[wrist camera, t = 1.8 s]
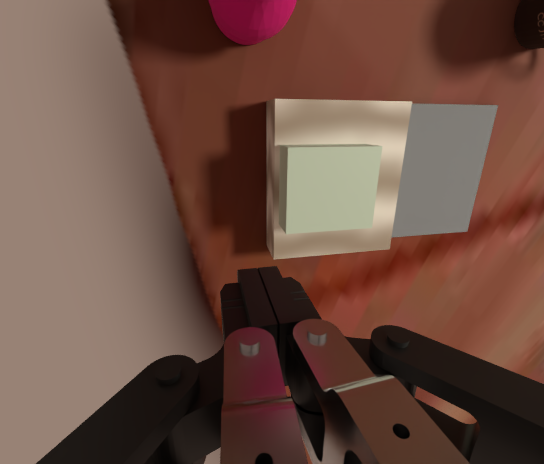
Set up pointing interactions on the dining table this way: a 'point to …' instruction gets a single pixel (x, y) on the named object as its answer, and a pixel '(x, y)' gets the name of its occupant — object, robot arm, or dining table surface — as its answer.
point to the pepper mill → (251, 18)
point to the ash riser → (336, 130)
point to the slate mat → (442, 167)
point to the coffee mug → (530, 24)
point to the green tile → (327, 187)
